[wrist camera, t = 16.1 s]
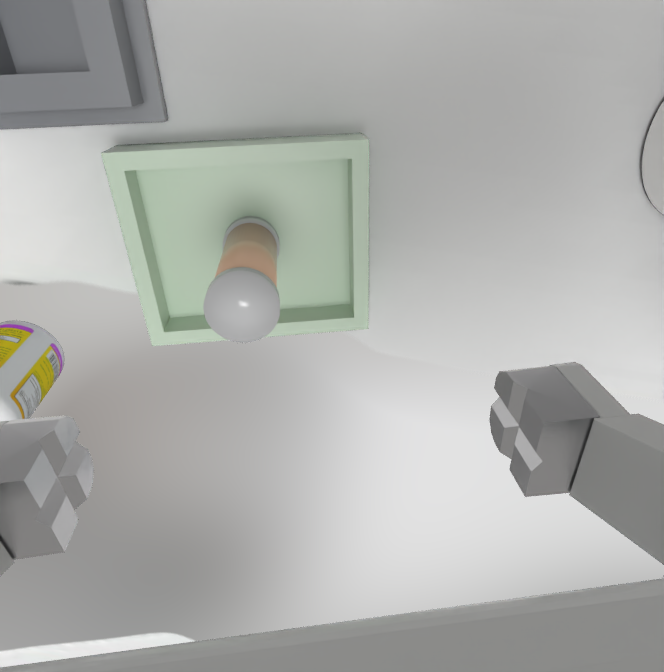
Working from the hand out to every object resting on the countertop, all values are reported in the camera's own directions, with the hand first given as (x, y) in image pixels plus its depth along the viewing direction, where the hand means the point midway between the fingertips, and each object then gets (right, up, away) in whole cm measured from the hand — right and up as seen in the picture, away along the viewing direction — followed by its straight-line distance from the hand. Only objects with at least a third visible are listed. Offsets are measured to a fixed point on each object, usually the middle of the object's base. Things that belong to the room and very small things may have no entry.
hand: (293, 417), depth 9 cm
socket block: (-17, +22, +21) cm, 35 cm away
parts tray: (-6, +10, +29) cm, 31 cm away
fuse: (-6, +9, +29) cm, 30 cm away
